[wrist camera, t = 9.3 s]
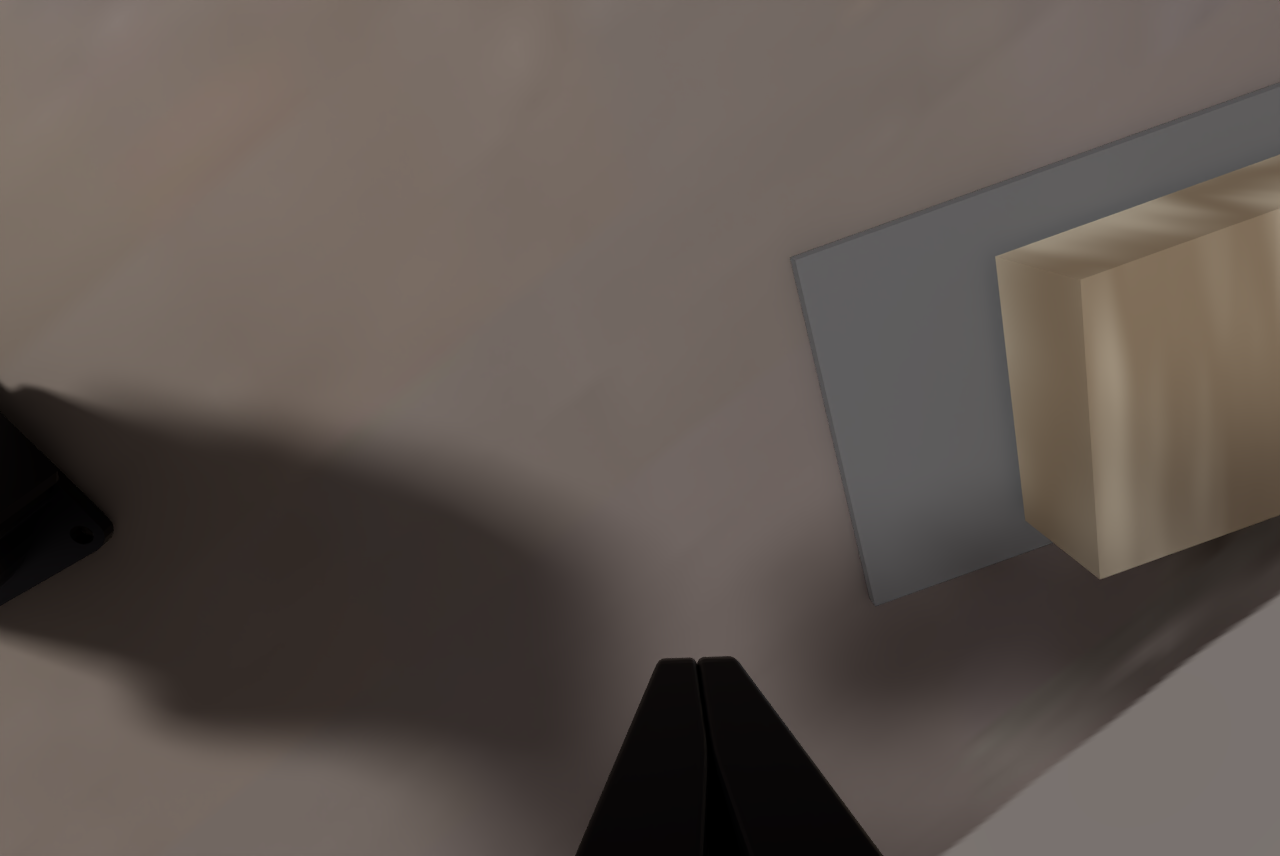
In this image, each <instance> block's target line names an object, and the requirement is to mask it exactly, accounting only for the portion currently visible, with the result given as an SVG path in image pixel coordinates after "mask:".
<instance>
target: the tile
mask: <svg viewBox="0 0 1280 856" xmlns="http://www.w3.org/2000/svg"><path fill="white" fill-rule="evenodd" d="M995 259H996V268H997V277H998V286H999V295H1000V303H1001V312H1002V321H1003V330H1004V338H1005V347H1006V356H1007V365H1008V374H1009V382H1010V391H1011V400H1012V409H1013V417H1014V426H1015V435H1016V444H1017V452H1018V461H1019V470H1020V479H1021V488H1022V496H1023V505H1024V514H1025V521H1026V522H1028V523H1029V524H1030V525H1032V526H1033V527H1034V528H1035V529H1037V530H1038V531H1039V532H1040V533H1042V534H1043V535H1044V536H1045V537H1047V538H1048V539H1049V540H1050V541H1052V542H1053V543H1054V544H1056V545H1057V546H1058V547H1059V548H1061V549H1062V550H1063V551H1064V552H1066V553H1067V554H1068V555H1069V556H1071V557H1072V558H1073V559H1074V560H1076V561H1077V562H1078V563H1080V564H1081V565H1082V566H1083V567H1085V568H1086V569H1087V570H1088V571H1090V572H1091V573H1092V574H1093V575H1095V576H1096V577H1097V578H1098V579H1103V578H1106V577H1109V576H1111V575H1114V574H1117V573H1120V572H1123V571H1125V570H1128V569H1131V568H1134V567H1136V566H1139V565H1142V564H1145V563H1148V562H1150V561H1153V560H1156V559H1159V558H1162V557H1164V556H1167V555H1170V554H1173V553H1175V552H1178V551H1181V550H1184V549H1187V548H1189V547H1192V546H1195V545H1198V544H1201V543H1203V542H1206V541H1209V540H1212V539H1214V538H1217V537H1220V536H1223V535H1226V534H1228V533H1231V532H1234V531H1237V530H1240V529H1242V528H1245V527H1248V526H1251V525H1253V524H1256V523H1259V522H1262V521H1265V520H1267V519H1270V518H1273V517H1276V516H1279V515H1280V155H1277V156H1274V157H1272V158H1269V159H1266V160H1263V161H1260V162H1258V163H1255V164H1252V165H1249V166H1246V167H1244V168H1241V169H1238V170H1235V171H1232V172H1230V173H1227V174H1224V175H1221V176H1219V177H1216V178H1213V179H1210V180H1207V181H1205V182H1202V183H1199V184H1196V185H1193V186H1191V187H1188V188H1185V189H1182V190H1179V191H1177V192H1174V193H1171V194H1168V195H1165V196H1163V197H1160V198H1157V199H1154V200H1151V201H1149V202H1146V203H1143V204H1140V205H1138V206H1135V207H1132V208H1129V209H1126V210H1124V211H1121V212H1118V213H1115V214H1112V215H1110V216H1107V217H1104V218H1101V219H1098V220H1096V221H1093V222H1090V223H1087V224H1084V225H1082V226H1079V227H1076V228H1073V229H1071V230H1068V231H1065V232H1062V233H1059V234H1057V235H1054V236H1051V237H1048V238H1045V239H1043V240H1040V241H1037V242H1034V243H1031V244H1029V245H1026V246H1023V247H1020V248H1017V249H1015V250H1012V251H1009V252H1006V253H1003V254H1001V255H998V256H995Z"/></svg>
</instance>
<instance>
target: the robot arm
mask: <svg viewBox="0 0 1280 856" xmlns="http://www.w3.org/2000/svg"><path fill="white" fill-rule="evenodd" d="M79 526H84V527H87V528H88V529H90V530H91V531H92V533H93V534H94V536H92V535H87V534H85V533H84V532H82V530H81V529H80V527H79ZM113 531H114V529H113V524H112V522H111V521H110V519H109V518H108V517H107V516H106V515H105V514H104V513H103V512H102V511H101V510H100V509H99V508H98V507H97V506H96V505H95V504H94V503H93V502H92V501H91V500H90V499H89V498H88V497H87V496H86V495H85V494H84V493H83V492H82V491H81V490H80V489H78V488H77V487H76V486H75V485H74V484H73V483H72V482H71V481H70V480H69V479H68V478H67V477H66V476H65V475H64V474H63V473H62V472H61V471H60V470H59V469H58V468H57V467H56V466H55V465H54V464H53V463H52V462H51V461H50V460H49V459H48V458H47V457H46V456H45V455H44V454H43V453H42V452H41V451H39V450H38V449H37V448H36V447H35V446H34V445H33V444H32V443H31V442H30V441H29V440H28V439H27V438H26V437H25V436H24V435H23V434H22V433H21V432H20V431H19V430H18V429H17V428H16V427H15V426H14V425H13V424H12V423H11V422H10V421H9V420H8V419H7V418H6V417H5V416H4V415H3V414H2V413H0V606H1V605H2V604H4V603H6V602H8V601H9V600H11V599H13V598H15V597H16V596H18V595H20V594H22V593H23V592H25V591H27V590H29V589H30V588H32V587H34V586H36V585H37V584H39V583H41V582H43V581H44V580H46V579H48V578H50V577H51V576H53V575H55V574H57V573H58V572H60V571H62V570H64V569H65V568H67V567H69V566H71V565H72V564H74V563H76V562H78V561H79V560H81V559H83V558H85V557H86V556H88V555H90V554H92V553H93V552H95V551H97V550H98V549H99V548H100V547H101V546H103V545H104V544H105V543H106V542H107V541H108V540H109V539H110V538H111V537H112V534H113ZM575 856H883V855H882V854H881V852H880V851H879V849H878V848H877V847H876V845H875V844H874V843H873V841H872V840H871V839H870V837H869V836H868V835H867V833H866V832H865V831H864V829H863V828H862V827H861V825H860V824H859V823H858V821H857V820H856V819H855V817H854V816H853V815H852V813H851V812H850V811H849V809H848V808H847V807H846V805H845V804H844V802H843V801H842V800H841V798H840V797H839V796H838V794H837V793H836V792H835V790H834V789H833V788H832V786H831V785H830V784H829V782H828V781H827V780H826V778H825V777H824V776H823V774H822V773H821V772H820V770H819V769H818V768H817V766H816V765H815V764H814V762H813V761H812V760H811V758H810V757H809V756H808V754H807V753H806V751H805V750H804V749H803V747H802V746H801V745H800V743H799V742H798V741H797V739H796V738H795V737H794V735H793V734H792V733H791V731H790V730H789V729H788V727H787V726H786V725H785V723H784V722H783V721H782V719H781V718H780V717H779V715H778V714H777V713H776V711H775V710H774V709H773V707H772V706H771V704H770V703H769V702H768V700H767V699H766V698H765V696H764V695H763V694H762V692H761V691H760V690H759V688H758V687H757V686H756V684H755V683H754V682H753V680H752V679H751V678H750V676H749V675H748V674H747V672H746V671H745V670H744V668H743V667H742V666H741V664H740V663H739V662H738V661H737V660H736V659H735V658H733V657H731V656H723V657H702V658H700V659H699V661H698V662H697V663H696V661H695V660H694V659H693V658H665V659H661V660H660V661H659V662H658V663H657V665H656V667H655V669H654V671H653V674H652V676H651V678H650V681H649V683H648V685H647V688H646V690H645V692H644V695H643V697H642V700H641V702H640V704H639V707H638V709H637V711H636V714H635V716H634V718H633V721H632V723H631V725H630V728H629V730H628V732H627V735H626V737H625V739H624V742H623V744H622V747H621V749H620V751H619V754H618V756H617V758H616V761H615V763H614V765H613V768H612V770H611V772H610V775H609V777H608V779H607V782H606V784H605V787H604V789H603V791H602V794H601V796H600V798H599V801H598V803H597V805H596V808H595V810H594V812H593V815H592V817H591V819H590V822H589V824H588V826H587V829H586V831H585V834H584V836H583V838H582V841H581V843H580V845H579V848H578V850H577V852H576V855H575Z"/></svg>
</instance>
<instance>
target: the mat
mask: <svg viewBox="0 0 1280 856" xmlns="http://www.w3.org/2000/svg"><path fill="white" fill-rule="evenodd" d="M1277 155H1280V82H1279V83H1276V84H1273V85H1271V86H1268V87H1265V88H1262V89H1259V90H1257V91H1254V92H1251V93H1248V94H1245V95H1243V96H1240V97H1237V98H1234V99H1231V100H1229V101H1226V102H1223V103H1220V104H1217V105H1215V106H1212V107H1209V108H1206V109H1203V110H1201V111H1198V112H1195V113H1192V114H1190V115H1187V116H1184V117H1181V118H1178V119H1176V120H1173V121H1170V122H1167V123H1164V124H1162V125H1159V126H1156V127H1153V128H1150V129H1148V130H1145V131H1142V132H1139V133H1136V134H1134V135H1131V136H1128V137H1125V138H1122V139H1120V140H1117V141H1114V142H1111V143H1108V144H1106V145H1103V146H1100V147H1097V148H1095V149H1092V150H1089V151H1086V152H1083V153H1081V154H1078V155H1075V156H1072V157H1069V158H1067V159H1064V160H1061V161H1058V162H1055V163H1053V164H1050V165H1047V166H1044V167H1041V168H1039V169H1036V170H1033V171H1030V172H1027V173H1025V174H1022V175H1019V176H1016V177H1013V178H1011V179H1008V180H1005V181H1002V182H1000V183H997V184H994V185H991V186H988V187H986V188H983V189H980V190H977V191H974V192H972V193H969V194H966V195H963V196H960V197H958V198H955V199H952V200H949V201H946V202H944V203H941V204H938V205H935V206H932V207H930V208H927V209H924V210H921V211H919V212H916V213H913V214H910V215H907V216H905V217H902V218H899V219H896V220H893V221H891V222H888V223H885V224H882V225H879V226H877V227H874V228H871V229H868V230H865V231H863V232H860V233H857V234H854V235H851V236H849V237H846V238H843V239H840V240H837V241H835V242H832V243H829V244H826V245H824V246H821V247H818V248H815V249H812V250H810V251H807V252H804V253H801V254H798V255H796V256H793V257H790V260H791V264H792V269H793V273H794V277H795V281H796V286H797V290H798V294H799V298H800V303H801V307H802V311H803V316H804V320H805V324H806V328H807V333H808V337H809V341H810V345H811V350H812V354H813V358H814V363H815V367H816V371H817V375H818V380H819V384H820V388H821V392H822V397H823V401H824V405H825V410H826V414H827V418H828V422H829V427H830V431H831V435H832V439H833V444H834V448H835V452H836V457H837V461H838V465H839V469H840V474H841V478H842V482H843V486H844V491H845V495H846V499H847V504H848V508H849V512H850V516H851V521H852V525H853V529H854V533H855V538H856V542H857V546H858V551H859V555H860V559H861V563H862V568H863V572H864V576H865V580H866V585H867V589H868V593H869V598H870V600H871V601H872V602H873V604H874V605H875V606H878V605H881V604H884V603H887V602H889V601H892V600H895V599H898V598H901V597H903V596H906V595H909V594H912V593H914V592H917V591H920V590H923V589H926V588H928V587H931V586H934V585H937V584H940V583H942V582H945V581H948V580H951V579H953V578H956V577H959V576H962V575H965V574H967V573H970V572H973V571H976V570H979V569H981V568H984V567H987V566H990V565H992V564H995V563H998V562H1001V561H1004V560H1006V559H1009V558H1012V557H1015V556H1018V555H1020V554H1023V553H1026V552H1029V551H1031V550H1034V549H1037V548H1040V547H1043V546H1045V545H1048V544H1051V543H1053V542H1052V541H1050V540H1049V539H1048V538H1047V537H1045V536H1044V535H1043V534H1042V533H1040V532H1039V531H1038V530H1037V529H1035V528H1034V527H1033V526H1032V525H1030V524H1029V523H1028V522H1026V521H1025V514H1024V505H1023V496H1022V488H1021V479H1020V470H1019V461H1018V452H1017V444H1016V435H1015V426H1014V417H1013V409H1012V400H1011V391H1010V382H1009V374H1008V365H1007V356H1006V347H1005V338H1004V330H1003V321H1002V312H1001V303H1000V295H999V286H998V277H997V268H996V259H995V256H998V255H1001V254H1003V253H1006V252H1009V251H1012V250H1015V249H1017V248H1020V247H1023V246H1026V245H1029V244H1031V243H1034V242H1037V241H1040V240H1043V239H1045V238H1048V237H1051V236H1054V235H1057V234H1059V233H1062V232H1065V231H1068V230H1071V229H1073V228H1076V227H1079V226H1082V225H1084V224H1087V223H1090V222H1093V221H1096V220H1098V219H1101V218H1104V217H1107V216H1110V215H1112V214H1115V213H1118V212H1121V211H1124V210H1126V209H1129V208H1132V207H1135V206H1138V205H1140V204H1143V203H1146V202H1149V201H1151V200H1154V199H1157V198H1160V197H1163V196H1165V195H1168V194H1171V193H1174V192H1177V191H1179V190H1182V189H1185V188H1188V187H1191V186H1193V185H1196V184H1199V183H1202V182H1205V181H1207V180H1210V179H1213V178H1216V177H1219V176H1221V175H1224V174H1227V173H1230V172H1232V171H1235V170H1238V169H1241V168H1244V167H1246V166H1249V165H1252V164H1255V163H1258V162H1260V161H1263V160H1266V159H1269V158H1272V157H1274V156H1277Z"/></svg>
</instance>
